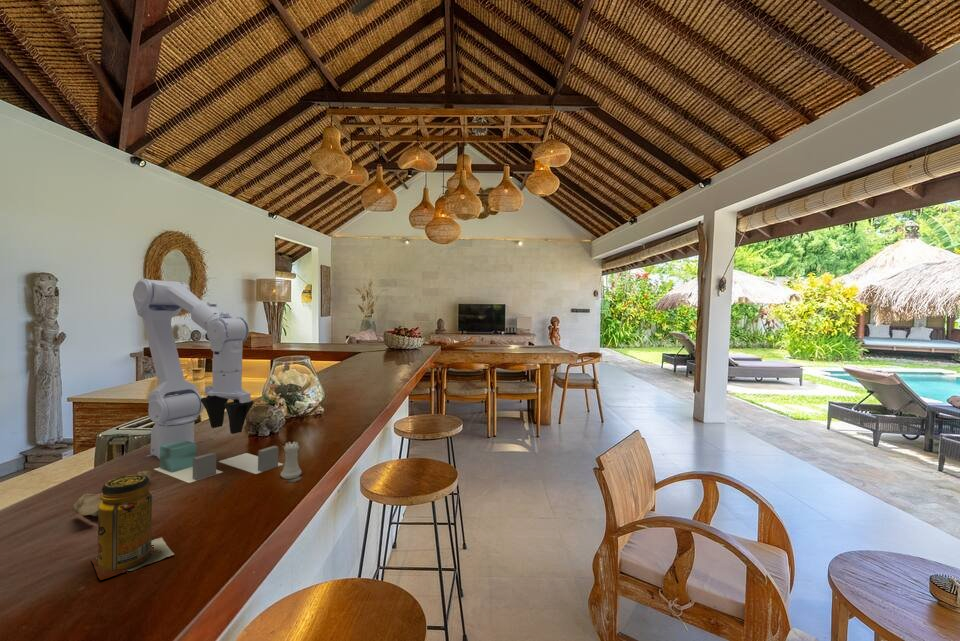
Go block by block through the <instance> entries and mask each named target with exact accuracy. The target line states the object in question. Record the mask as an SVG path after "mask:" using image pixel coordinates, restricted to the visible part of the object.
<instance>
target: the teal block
mask: <svg viewBox="0 0 960 641" xmlns="http://www.w3.org/2000/svg"><path fill="white" fill-rule="evenodd" d="M197 446H198V445H197V443H195V442H194V443H192V442H189V441H186V440H183V441H179V442H174V443H170V444H166V445H162V446H160V459H159V467H160V468H161V469H164V470H166V471H169V472H171V473H173V472H176V471H179V470H183V469H186V468H190V467H193V458H194V457H198V455H197V454H198V453H197V452H198V450H197Z"/></svg>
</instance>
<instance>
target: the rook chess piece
mask: <svg viewBox="0 0 960 641" xmlns="http://www.w3.org/2000/svg"><path fill="white" fill-rule="evenodd" d="M299 449H300V446H299V442H298V441H297V442H296V441H292V442H291V441H288V442H286V443H285V446H284V447H283V450H284V452H285V454H284V457H285V460H284V464H283V465H284V467H283V468H282V471H280V477H281V478H282V479H285V480H287V481H285V482H284V484H293V483H297V482H298V481H300V480H301V479H302V477H303V476H302V475H301V474H302V473H303V472H302V469H301V467H300V466H299V462H298V461H299V460H298V455H299V453H298V450H299ZM290 479H291V480H290Z"/></svg>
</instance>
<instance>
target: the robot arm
mask: <svg viewBox="0 0 960 641" xmlns="http://www.w3.org/2000/svg"><path fill="white" fill-rule="evenodd" d="M134 285H135V286H134V288H133V291H132V298H133V302H134V305H135V310H136V313H137V315H138V316H139V317H140V318H141V319H142V323H143V327H144V331H145V334H146V338H147V342H148V345H149V346H148V347H149V350H150V354H151V355H150V356H151V359H152V363H153V367H154V372H155V375H156V379H157V382H158V386H156V387H155V388H154V389H153V390H152V391H151V392H150V393H149V395H148V396H147V398H148V408H147V411H148V413H147V414H148V416H149V419H150V420H151V421H152V422H153V423H154V425H153V427H152V428H151V432H150V454H148V455H147V454H146V456H145V457H151V456H155V457H157V459H159V460H160V446H162V445H166V444H170V443H174V442H179V441H183V440H186V441H189V442H192V443H195V420H198V418H199V417H198V416H199V415H201V414H202V412H203V409H205V411H206V413H207V416H208V420H209V424H210V427H211V429H217V428H221V427H223V424H224V419H225V411H226V413H227V417H228V423H229V424H228V425H229V431H230V434H232V435H235V434H238V433H242V430H243V428H244V424H245V421H246V418H247V416H248V413H249V412H250V410H251V409H252V407H253V405H254V401H253V400H251V399H252V398H251V397H252V396H251V395H252V394H251V392H247V390H245V389H243V387H242V384H243V383H242V382H243V378H242V377H243V344H244V342H245V341H246V340H247V339H248V337H249V333H250V327H249V323H248V322H247V321H246V320H245V319H244V317H241V316H237V317H234V316H231V315H230V313H228V312H227V311H225V310H223V309H221V308H220V307H218V305H217V303H216V302H215V301H202V300H201V299H200V298H198V296H197V295H195V294H194V293H193V292H192V291H191V287H190V285H189V284H187V283H185V282H184V281H183V280H182V281H179V280H178V281H171V280H169V281H168V280H159V279H157V280H156V279H148V278H141V279H138V281H137V282H136V283H135V284H134ZM182 309H183V310H185V311H186V312H188V313H190V319H191V321H193V323H194V324H196V325H197V326H199V327H200V328H202V329H203V330H204V331H206V334H207V338H208V340H209V346H210V348H209V349H210V350H211V351H212V385H209V386H207V385H206V386H204V395H205V396H206V397H203V396H202V395H201V394H200V392H199V391H198V387H197V385H196V384H194V383H192V382H190V381H188V380H186V379H185V375H184V372H183V368H182V365H181V359H180V357H179V356H180V355H179V352H178V349H177V345H176V341H175V340H176V339H175V337H174V333H173V328H172V325H171V319H172V318H175V317H177V316H178V315H179V314H180V312H181V311H182ZM229 400H230V401H229ZM231 400H232V401H231ZM228 401H229V402H228Z"/></svg>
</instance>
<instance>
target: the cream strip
mask: <svg viewBox="0 0 960 641" xmlns="http://www.w3.org/2000/svg"><path fill="white" fill-rule="evenodd" d="M153 470H155V471H157V472H159V473H162V474H165V475H168V476H169V477H172V478H174V479H177V480H180V481H182V482H186V483H188V484H190V483H193V482H197V481H199V480H203V479H205V478H209V477H212V476H216V475H218V474H221V473H223V471H222V470H218V469H217V453H215V452H213V451H212V452H209V453H206V454H203V455H197V457H194V458H193V467H190V468H186V469H183V470H179V471H176V472H173V473H171V472H169V471H166V470H164V469H161V468H160V466H159V467H156V468H153Z"/></svg>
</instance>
